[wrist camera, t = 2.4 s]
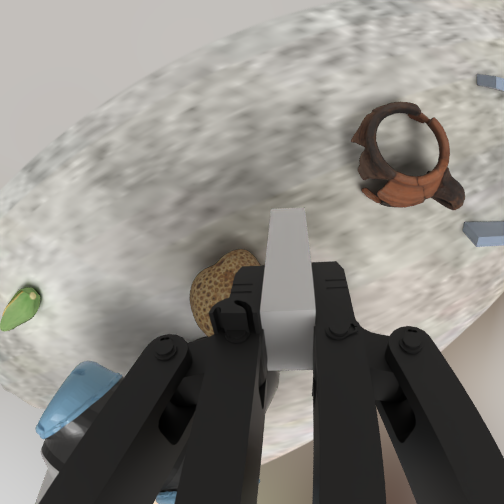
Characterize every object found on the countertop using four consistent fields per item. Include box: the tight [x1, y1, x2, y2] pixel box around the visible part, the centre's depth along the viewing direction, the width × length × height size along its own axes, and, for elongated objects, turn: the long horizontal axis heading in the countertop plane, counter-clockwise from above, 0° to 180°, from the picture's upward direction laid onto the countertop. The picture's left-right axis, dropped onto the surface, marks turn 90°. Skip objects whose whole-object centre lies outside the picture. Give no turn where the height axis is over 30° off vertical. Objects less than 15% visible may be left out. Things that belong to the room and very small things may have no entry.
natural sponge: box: [190, 249, 260, 337], centre depth 31 cm, size 9×9×10 cm
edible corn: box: [0, 287, 40, 331], centre depth 43 cm, size 5×20×5 cm
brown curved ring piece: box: [351, 102, 465, 210], centre depth 24 cm, size 12×10×8 cm
